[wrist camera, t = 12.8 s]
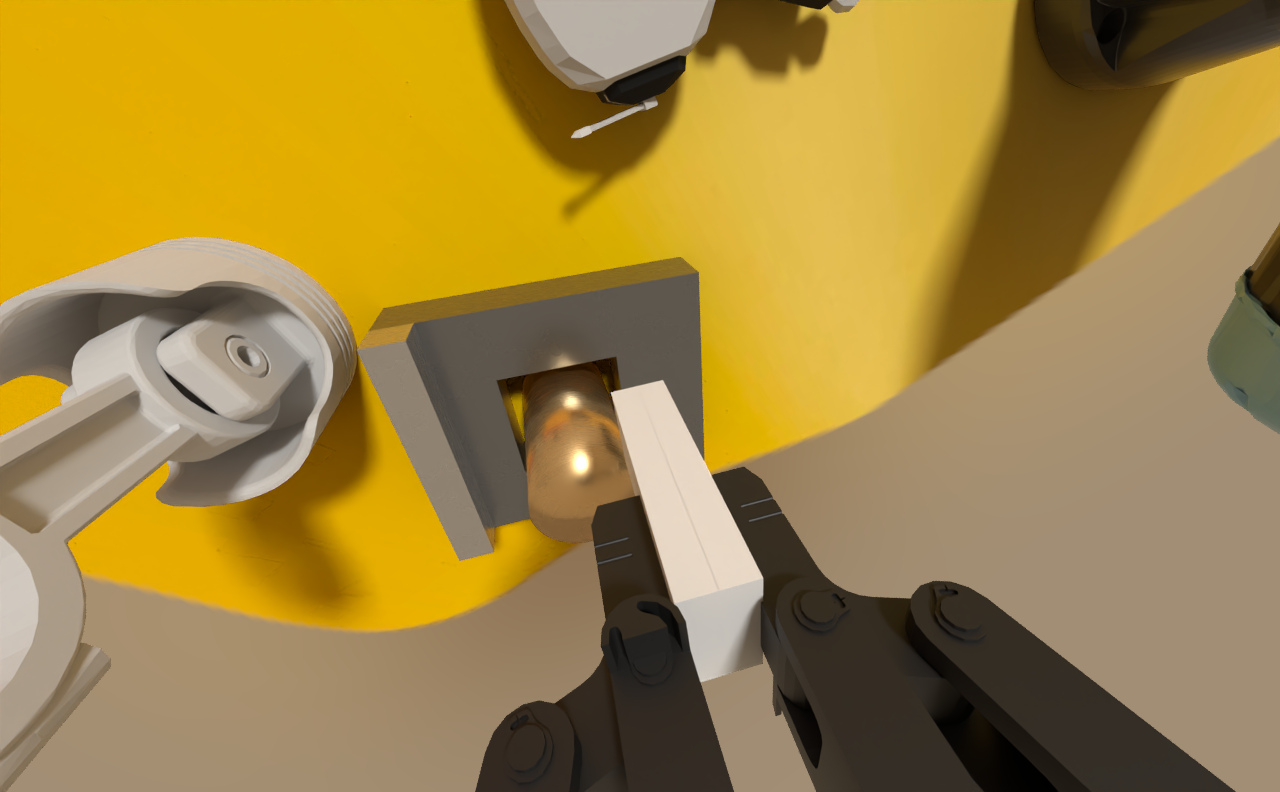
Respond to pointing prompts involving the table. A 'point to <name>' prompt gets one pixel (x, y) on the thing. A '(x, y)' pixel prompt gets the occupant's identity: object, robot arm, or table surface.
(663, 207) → the table surface
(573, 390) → the copper cylinder rod
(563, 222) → the table surface
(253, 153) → the table surface
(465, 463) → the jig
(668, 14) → the robot toy
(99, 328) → the engine component
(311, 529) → the table surface
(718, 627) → the robot arm
